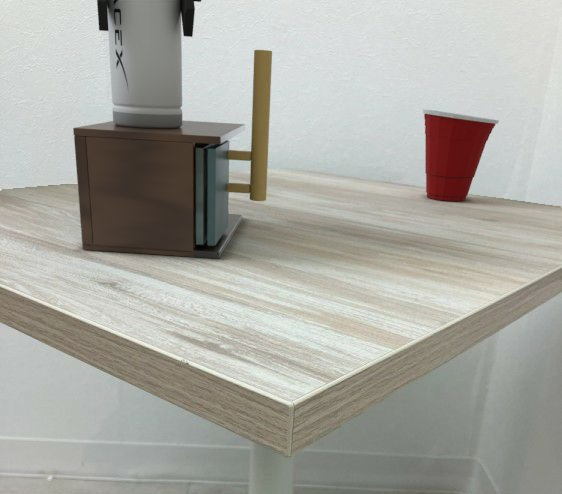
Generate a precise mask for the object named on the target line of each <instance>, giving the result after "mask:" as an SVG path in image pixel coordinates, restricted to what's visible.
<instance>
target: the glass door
mask: <svg viewBox="0 0 562 494" xmlns="http://www.w3.org/2000/svg"><path fill="white" fill-rule="evenodd" d="M272 64H273V50H268V49H254V50H253V77H252V107H251V110H252V111H251V112H252V113H251V143H250V151H249V150H235V149H230V140H229V139H228V140H227V141H225V142H223V143H221V144H215V145H213V146H211V147H209V148H208V201H207V245H209V246H215V245H216V243H217V242H218V240H219V239H220V238H221V236H222V235H223V233H224V232H225V230H226V229H227V227H228V214H229V200H230V199H229V196H230V195H229V194H230V193H234V194H249V200H250V201H253V202H265V201H266V200H267V192H268V191H267V188H268V167H269V166H268V164H269V163H268V162H269V138H270V137H269V136H270V116H271V115H270V113H271V93H272V92H271V90H272V67H273V65H272ZM230 161H242V162H243V161H245V162H250V173H249V174H250V176H249V177H250V178H249V179H250V180H249V181H250V182H249V183H240V182H239V183H238V182H230Z"/></svg>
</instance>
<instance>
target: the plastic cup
mask: <svg viewBox="0 0 562 494" xmlns="http://www.w3.org/2000/svg"><path fill="white" fill-rule="evenodd" d="M422 114H424V115H423V117H424V118H423V119H424V135H425V164H424V165H425V166H424V167H425V170H424V171H425V172H424V173H425V192H426V197H427V198H429V199H432V200H439V201H446V202H463V201H465V200H466V199H467V197H468V196H469V195H468V194H469V191H470V188H471V185H472V182H473V179H474V178H475V176H476V172H477V169H478V168H479V164H480V161H481V158H482V156H483V153H484V149H485V147H486V144H487V142H488V140H489V137H490V136H491V135H490V134H492V131H493V130H494V128H495V127H496V125H497V124H499V121H500V120H499V119H494V118H493V119H492V118H488V117H487V118H486V117H480V116H473V115H469V114H461V113H455V112H447V111H439V110H432V109H424V108H423V109H422Z"/></svg>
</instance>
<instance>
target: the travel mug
mask: <svg viewBox="0 0 562 494" xmlns="http://www.w3.org/2000/svg"><path fill="white" fill-rule="evenodd" d="M107 12H108V30H109V31H107V34H108V35H107V36H108V49H109V50H108V51H109V67H110V69H109V70H110V87H111V103H112V104H113V106H112V121H113V122H114V124H116V125H118V126H123V127H133V128H152V129H173V128H180V127H181V126H182V121H183V109H182V107H183V64H182V63H183V56H182V54H183V53H182V51H183V50H182V16H181V0H107Z"/></svg>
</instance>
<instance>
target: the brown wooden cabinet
mask: <svg viewBox="0 0 562 494" xmlns="http://www.w3.org/2000/svg"><path fill="white" fill-rule="evenodd" d="M244 131H246V124H245V123H230V122H212V121H199V120H197V121H196V120H182V126H181V127H180V128H173V129H152V128H133V127H123V126H118V125H116V124H114V122H113V120H111V121H105V122H100V123H93V124H88V125H83V126H77V127H73V128H72V132H73V140H74V153H75V155H74V156H75V166H76V181H77V194H78V206H79V207H78V208H79V219H80V230H81V245H82V246H81V247H82V250H83V251H96V252H97V251H99V252H112V253H113V252H115V253H126V254H127V253H129V254H144V255H159V256H173V257H189V258H190V257H191V258H204V259H216V260H217V259H218V260H219V259H220V258H221V256H222V254H223V253H224V251H225V250H226V248H227V246H228V244H229V243H230V241H231V239H232V238H233V236H234V235H235V233H236V231H237V230H238V228H239V226H240V225H241V223H242V222H243V219H244V217H243V215H244V214H239V213H228V227H227V229H226V230H225V232H224V233H223V235H222V236H221V238H220V239H219V240H218V242H217V243H216V245H215V246H209V245H207V201H208V148H209V147H211V146H213V145H215V144H221V143H223V142H225V141H227V140H228V141H229V140H231V139H232V138H234V137H235V136H237V135H239V134H240V133H242V132H244Z"/></svg>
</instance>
